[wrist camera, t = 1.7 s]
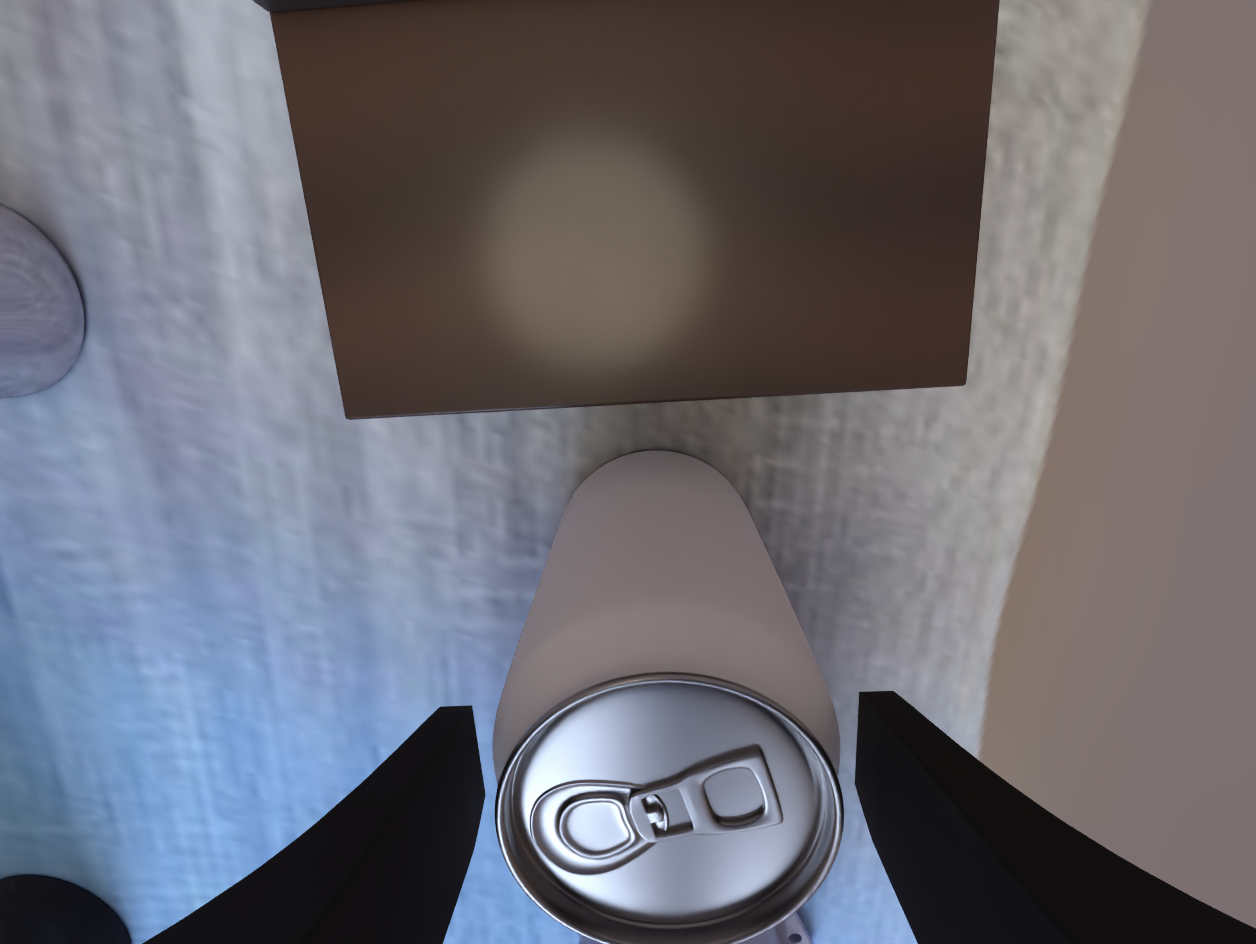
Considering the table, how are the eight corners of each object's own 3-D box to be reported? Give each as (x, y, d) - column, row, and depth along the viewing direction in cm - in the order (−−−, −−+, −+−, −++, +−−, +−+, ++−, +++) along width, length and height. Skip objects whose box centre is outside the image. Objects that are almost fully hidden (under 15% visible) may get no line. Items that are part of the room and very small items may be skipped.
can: (532, 479, 21) (401, 714, 10) (721, 420, 21) (819, 599, 9) (596, 643, 23) (548, 1006, 11) (772, 594, 22) (909, 929, 11)
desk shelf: (905, 366, 20) (987, 392, 15) (400, 395, 21) (326, 428, 16) (928, -9, 17) (1038, -123, 12) (343, 39, 18) (232, -52, 13)
